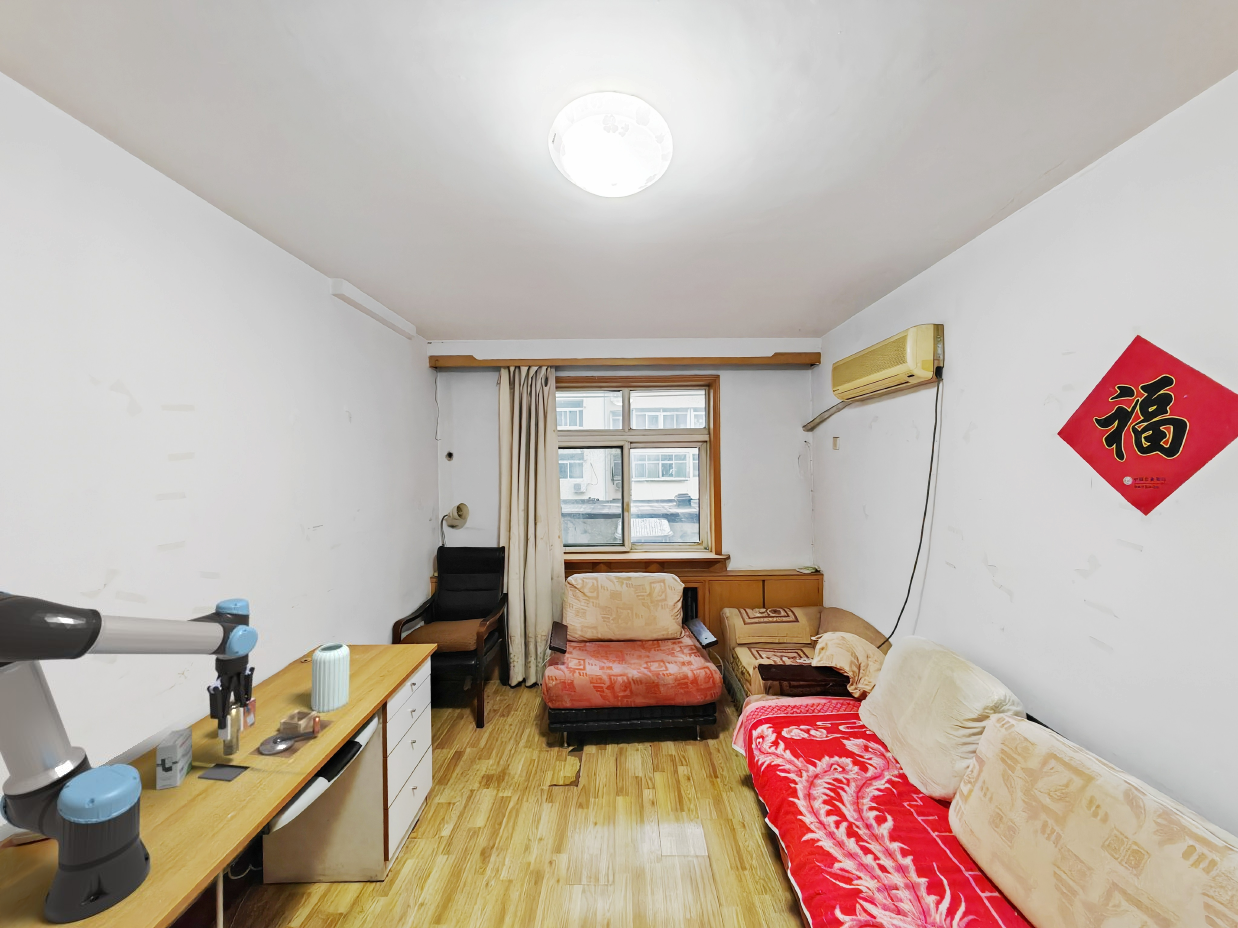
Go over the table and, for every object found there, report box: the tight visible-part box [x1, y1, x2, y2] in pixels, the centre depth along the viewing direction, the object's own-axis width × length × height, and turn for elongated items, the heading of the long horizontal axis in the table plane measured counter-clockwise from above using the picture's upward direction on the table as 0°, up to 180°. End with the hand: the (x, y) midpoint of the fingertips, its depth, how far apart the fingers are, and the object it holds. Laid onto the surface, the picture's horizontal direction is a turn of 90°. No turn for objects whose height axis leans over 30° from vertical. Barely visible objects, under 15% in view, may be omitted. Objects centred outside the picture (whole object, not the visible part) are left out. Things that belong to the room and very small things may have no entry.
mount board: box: [248, 719, 335, 759], centre depth 153 cm, size 20×13×2 cm, turn 175°
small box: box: [217, 697, 257, 738], centre depth 156 cm, size 8×6×10 cm
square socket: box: [279, 709, 318, 734], centre depth 159 cm, size 7×7×4 cm
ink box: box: [155, 727, 193, 791], centre depth 135 cm, size 9×5×12 cm, turn 21°
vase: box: [310, 642, 351, 713], centre depth 173 cm, size 12×12×22 cm
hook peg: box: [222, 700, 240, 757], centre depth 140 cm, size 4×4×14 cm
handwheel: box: [258, 715, 321, 754], centre depth 150 cm, size 9×16×6 cm, turn 120°
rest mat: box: [197, 762, 251, 782], centre depth 140 cm, size 10×10×1 cm
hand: (231, 733), depth 140 cm, fingers closed on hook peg, 3 cm apart
